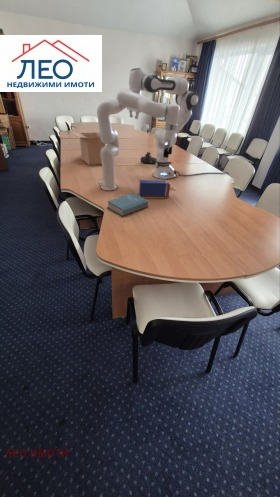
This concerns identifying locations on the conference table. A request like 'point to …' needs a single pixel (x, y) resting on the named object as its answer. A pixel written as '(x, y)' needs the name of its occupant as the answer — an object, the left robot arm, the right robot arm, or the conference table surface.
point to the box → (90, 146)
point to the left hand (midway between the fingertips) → (167, 155)
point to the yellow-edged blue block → (152, 188)
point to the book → (127, 204)
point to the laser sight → (148, 159)
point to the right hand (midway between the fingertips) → (133, 118)
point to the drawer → (169, 189)
